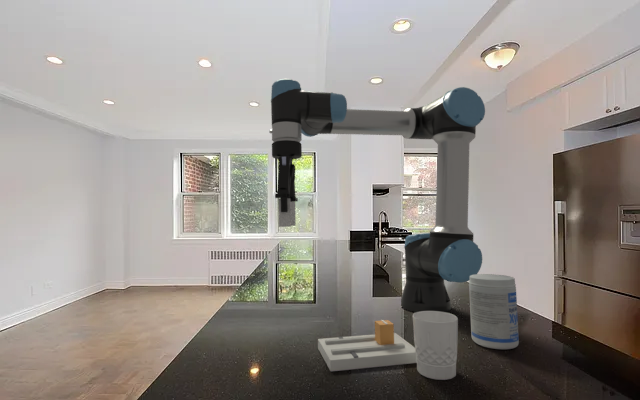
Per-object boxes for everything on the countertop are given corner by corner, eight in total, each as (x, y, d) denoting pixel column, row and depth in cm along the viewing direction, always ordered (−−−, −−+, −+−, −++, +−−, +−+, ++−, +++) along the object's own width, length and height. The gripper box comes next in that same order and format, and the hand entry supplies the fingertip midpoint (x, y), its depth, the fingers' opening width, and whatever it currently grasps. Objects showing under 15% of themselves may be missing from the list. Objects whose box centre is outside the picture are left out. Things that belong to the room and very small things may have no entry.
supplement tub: (523, 353, 72) (520, 281, 73) (473, 348, 75) (471, 279, 76) (513, 338, 81) (510, 274, 82) (469, 334, 84) (466, 272, 85)
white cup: (408, 364, 67) (406, 311, 68) (447, 362, 68) (445, 310, 69) (423, 383, 59) (421, 323, 60) (468, 380, 60) (466, 321, 61)
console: (395, 341, 80) (395, 330, 80) (420, 362, 68) (420, 348, 68) (318, 348, 76) (317, 336, 76) (330, 371, 64) (330, 356, 65)
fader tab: (388, 339, 75) (387, 319, 75) (394, 343, 72) (393, 323, 72) (375, 340, 74) (374, 320, 74) (380, 345, 71) (379, 324, 72)
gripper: (278, 152, 101) (279, 225, 100) (263, 130, 76) (264, 227, 75) (304, 151, 101) (305, 225, 100) (297, 129, 76) (299, 226, 75)
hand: (287, 226), depth 88 cm, fingers open, 13 cm apart
